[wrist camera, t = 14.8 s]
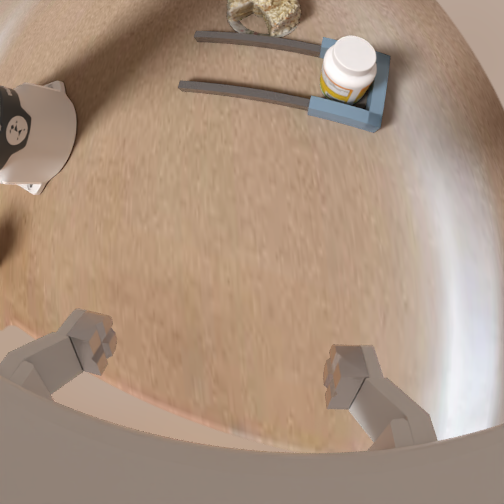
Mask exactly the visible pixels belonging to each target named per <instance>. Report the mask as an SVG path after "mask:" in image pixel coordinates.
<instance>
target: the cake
mask: <svg viewBox="0 0 504 504" xmlns="http://www.w3.org/2000/svg"><path fill="white" fill-rule="evenodd" d="M227 9H228V11H227V19H228V20H227V21H228V22H229V23H230V26H231V27H232V28H233V30H235V31H236V32H237V33H243V34H253V35H261V36H269V37H276V38H279V37H284V36H285V35H288V34H289V33H291V32H292V31H294V30H295V28H297V27H296V26H295V25H297V24H298V19H299V18H300V15H301V9H300V4H299V3H298V0H228V2H227ZM252 13H255V16H257V17H263V18H264V20H265V22H266V25H267V28H268V30H269V31H268V32H269V34H260V33H256V32H254V31H251V30H249V29H247V28H246V27H245V26H243V25H242V24H241V23H240V21H239V20H242V18H245V17H247V16H249V15H250V14H252ZM299 23H300V22H299ZM297 26H298V25H297ZM290 30H291V31H290Z"/></svg>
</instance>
